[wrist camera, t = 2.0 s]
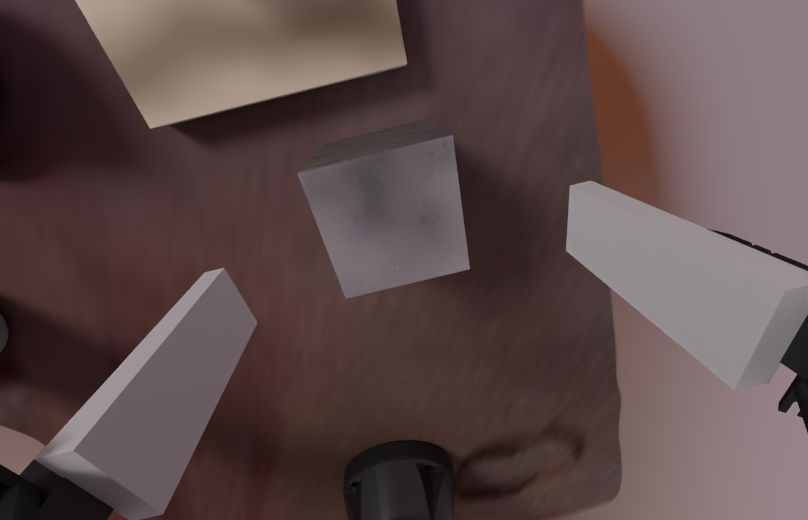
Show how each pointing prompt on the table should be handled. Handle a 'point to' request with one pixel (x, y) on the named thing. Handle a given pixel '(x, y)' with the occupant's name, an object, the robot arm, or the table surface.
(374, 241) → the mottled grey cube
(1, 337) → the water bottle
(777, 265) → the robot arm
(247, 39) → the base
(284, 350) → the table surface
